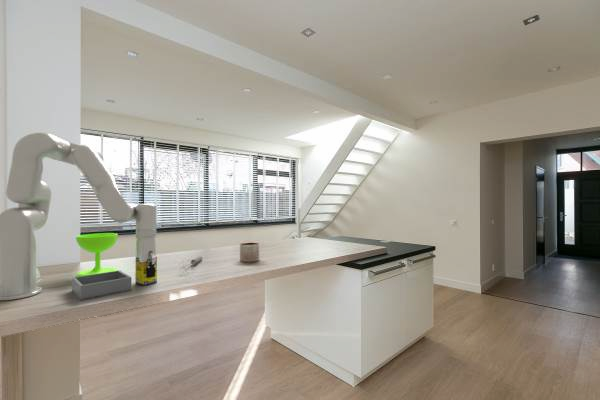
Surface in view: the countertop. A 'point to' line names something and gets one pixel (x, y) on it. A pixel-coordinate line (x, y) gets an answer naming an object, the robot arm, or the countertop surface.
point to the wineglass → (96, 249)
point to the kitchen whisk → (192, 262)
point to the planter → (249, 252)
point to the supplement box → (144, 273)
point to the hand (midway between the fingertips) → (146, 275)
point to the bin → (100, 284)
